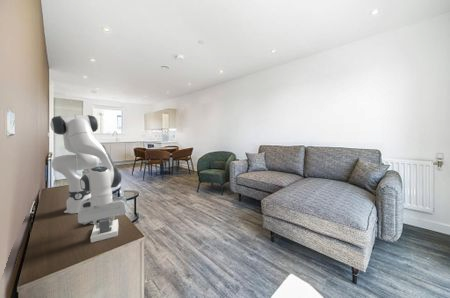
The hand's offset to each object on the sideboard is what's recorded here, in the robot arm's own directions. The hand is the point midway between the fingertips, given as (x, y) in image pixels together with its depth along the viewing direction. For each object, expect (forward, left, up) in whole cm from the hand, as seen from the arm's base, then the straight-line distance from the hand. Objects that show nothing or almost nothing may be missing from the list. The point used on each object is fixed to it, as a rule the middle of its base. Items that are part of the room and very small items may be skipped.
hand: (104, 226), depth 94 cm
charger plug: (0, 0, -2) cm, 2 cm away
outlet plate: (-4, 0, -5) cm, 6 cm away
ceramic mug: (-22, -7, -5) cm, 23 cm away
